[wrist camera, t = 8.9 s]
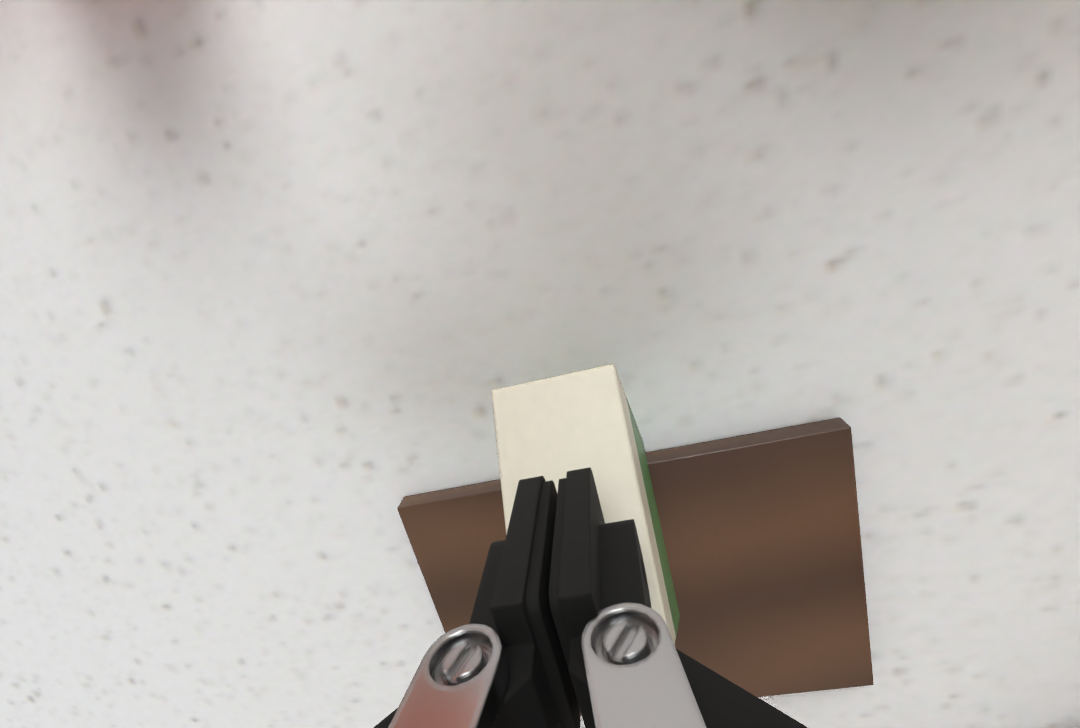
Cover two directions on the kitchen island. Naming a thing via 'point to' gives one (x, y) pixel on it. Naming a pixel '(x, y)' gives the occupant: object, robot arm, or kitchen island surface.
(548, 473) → the block
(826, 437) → the cutting board
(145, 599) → the kitchen island surface
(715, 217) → the kitchen island surface
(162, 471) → the kitchen island surface
